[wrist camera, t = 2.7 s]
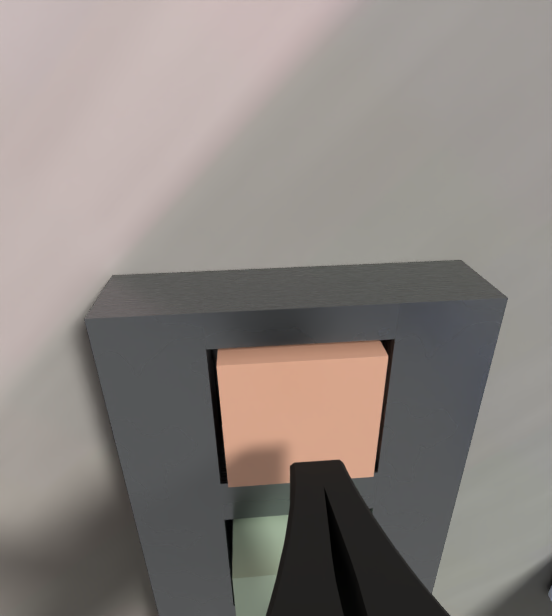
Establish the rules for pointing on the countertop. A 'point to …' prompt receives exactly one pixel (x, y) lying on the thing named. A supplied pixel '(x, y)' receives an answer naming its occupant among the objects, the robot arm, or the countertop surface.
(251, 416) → the terracotta button
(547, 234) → the countertop surface
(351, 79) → the countertop surface
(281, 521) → the sage button
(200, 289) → the button panel
